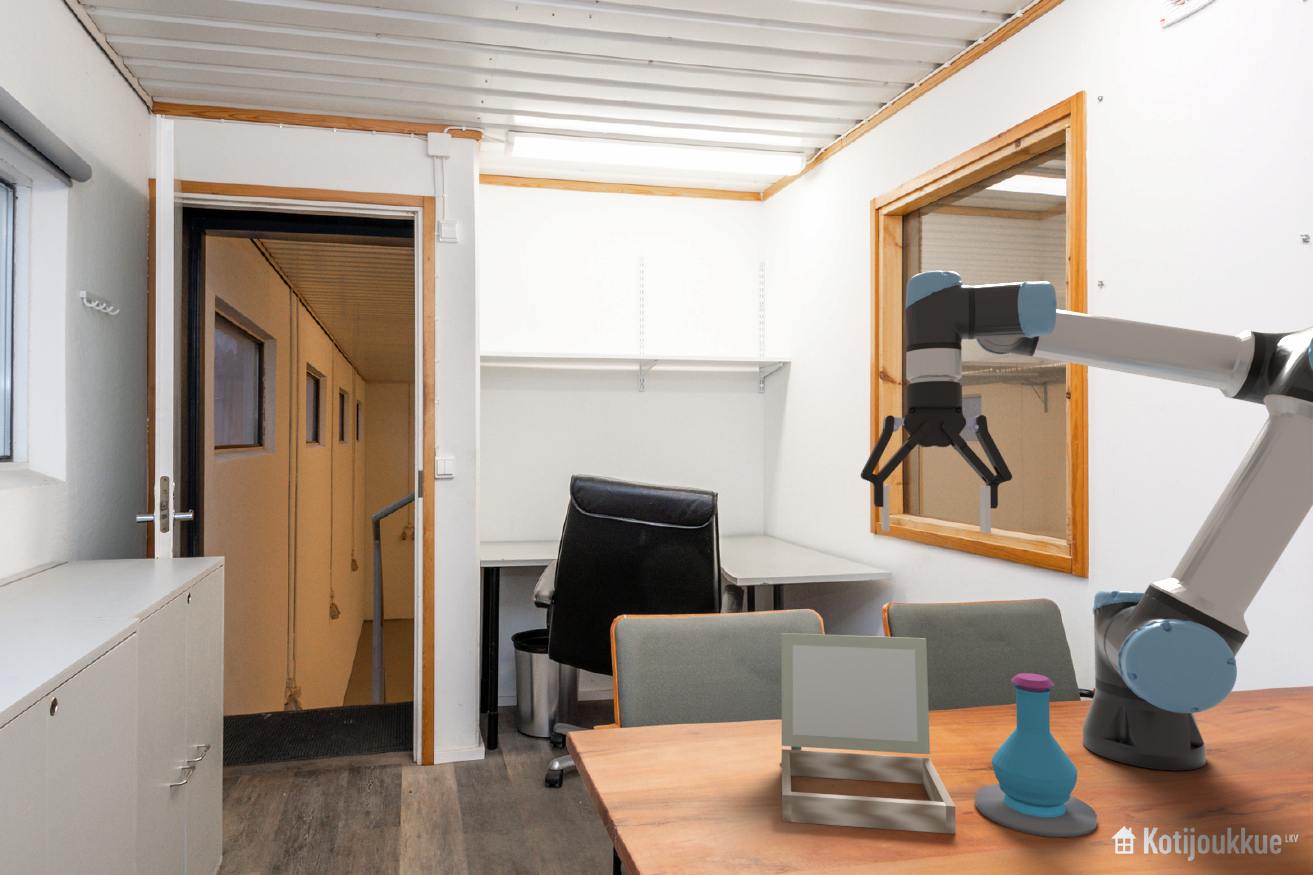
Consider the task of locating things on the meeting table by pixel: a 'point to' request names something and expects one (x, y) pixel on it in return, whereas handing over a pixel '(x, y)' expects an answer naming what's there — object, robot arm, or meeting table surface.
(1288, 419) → the robot arm
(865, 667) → the lid
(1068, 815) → the saucer
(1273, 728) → the meeting table surface
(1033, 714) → the perfume bottle
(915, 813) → the cold frame
